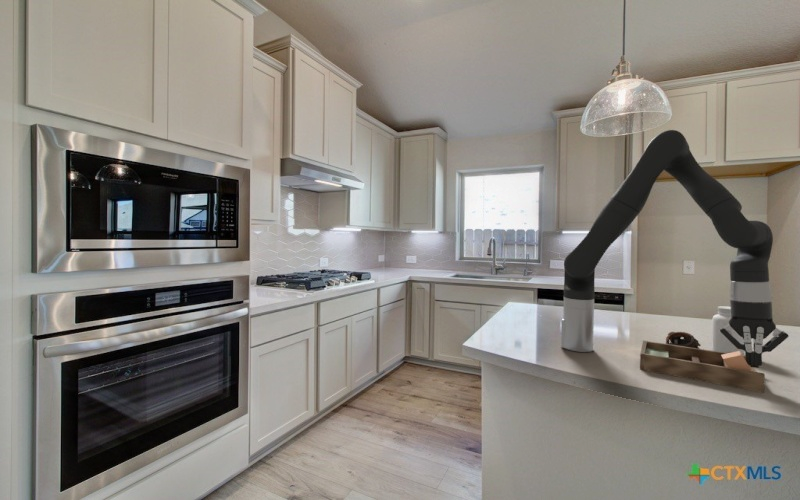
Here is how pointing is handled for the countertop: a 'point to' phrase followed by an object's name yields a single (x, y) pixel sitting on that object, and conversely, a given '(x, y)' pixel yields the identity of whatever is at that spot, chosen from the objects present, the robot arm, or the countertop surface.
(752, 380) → the box
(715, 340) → the pill bottle
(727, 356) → the terracotta block
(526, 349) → the countertop surface
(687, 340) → the pottery mug
